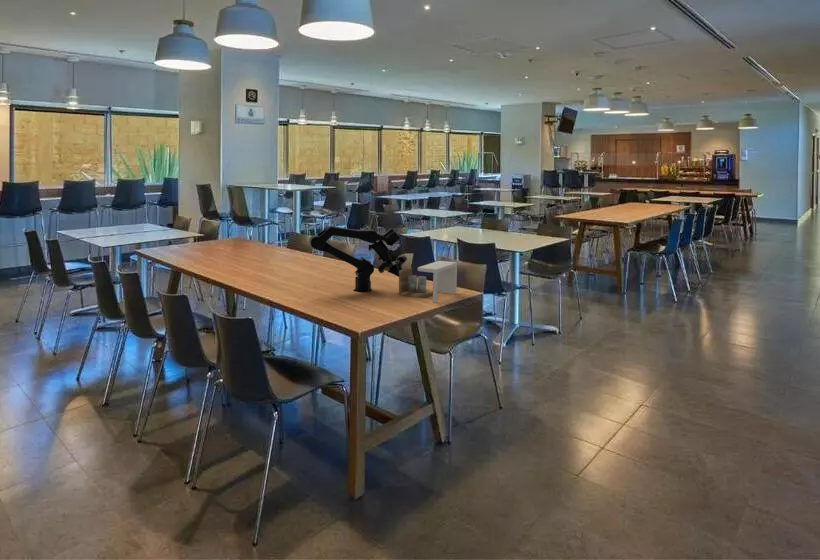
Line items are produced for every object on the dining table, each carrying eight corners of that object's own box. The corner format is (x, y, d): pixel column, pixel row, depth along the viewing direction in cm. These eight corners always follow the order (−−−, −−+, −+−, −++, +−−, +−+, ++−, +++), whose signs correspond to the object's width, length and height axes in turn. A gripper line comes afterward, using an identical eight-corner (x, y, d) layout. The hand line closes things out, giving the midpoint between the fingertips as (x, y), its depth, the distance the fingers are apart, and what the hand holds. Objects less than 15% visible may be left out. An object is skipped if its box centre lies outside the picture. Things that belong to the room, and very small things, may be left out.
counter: (417, 300, 261) (417, 267, 258) (438, 291, 279) (439, 260, 276) (435, 302, 257) (436, 269, 254) (456, 293, 275) (457, 262, 272)
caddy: (398, 294, 272) (399, 270, 270) (409, 290, 280) (409, 267, 278) (424, 298, 266) (424, 273, 264) (434, 293, 274) (435, 270, 272)
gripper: (383, 243, 266) (405, 270, 263) (403, 238, 282) (424, 264, 280) (368, 259, 271) (389, 286, 269) (389, 254, 288) (409, 279, 285)
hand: (404, 278), depth 275 cm, fingers closed
